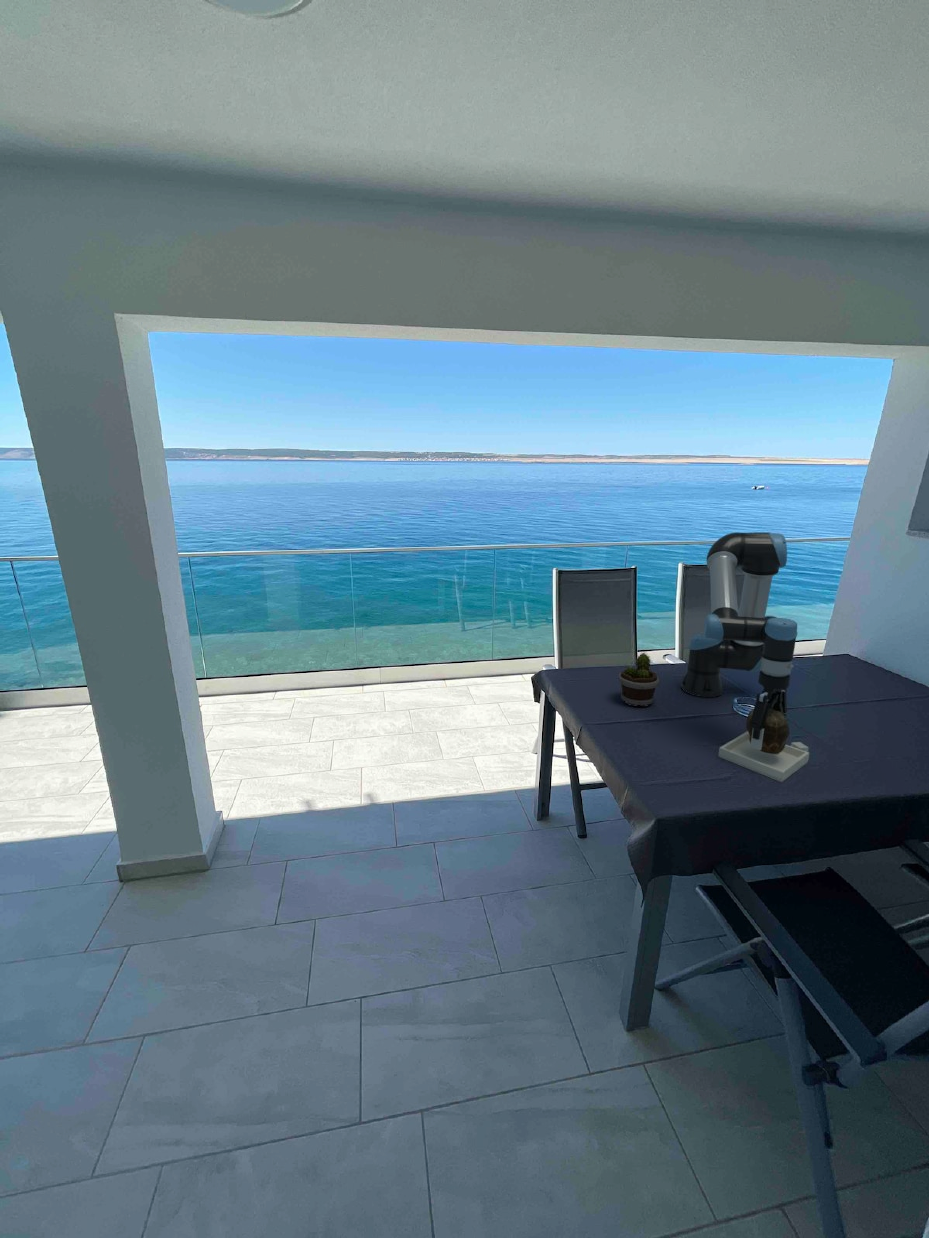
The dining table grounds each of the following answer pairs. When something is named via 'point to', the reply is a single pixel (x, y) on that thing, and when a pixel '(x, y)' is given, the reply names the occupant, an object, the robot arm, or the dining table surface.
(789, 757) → the dish
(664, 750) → the dining table surface
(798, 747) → the pebble
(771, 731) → the shell
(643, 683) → the flowerpot
